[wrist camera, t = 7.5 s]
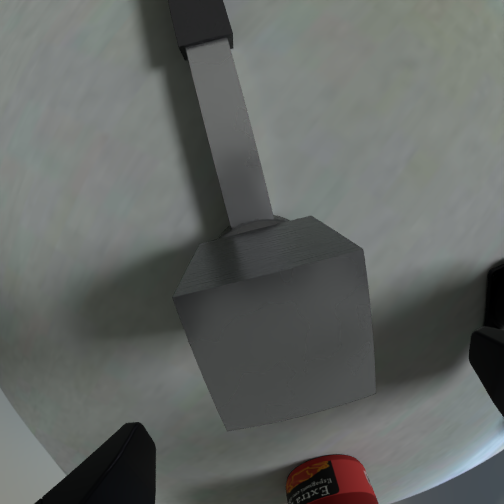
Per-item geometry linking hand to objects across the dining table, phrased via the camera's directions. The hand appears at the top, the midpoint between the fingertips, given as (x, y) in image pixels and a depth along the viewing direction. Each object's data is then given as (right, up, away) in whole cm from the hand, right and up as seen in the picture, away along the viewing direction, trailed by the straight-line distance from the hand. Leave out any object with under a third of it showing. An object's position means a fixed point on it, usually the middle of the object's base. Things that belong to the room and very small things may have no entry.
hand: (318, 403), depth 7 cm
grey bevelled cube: (-1, +2, +9) cm, 9 cm away
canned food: (+5, -18, +17) cm, 25 cm away
